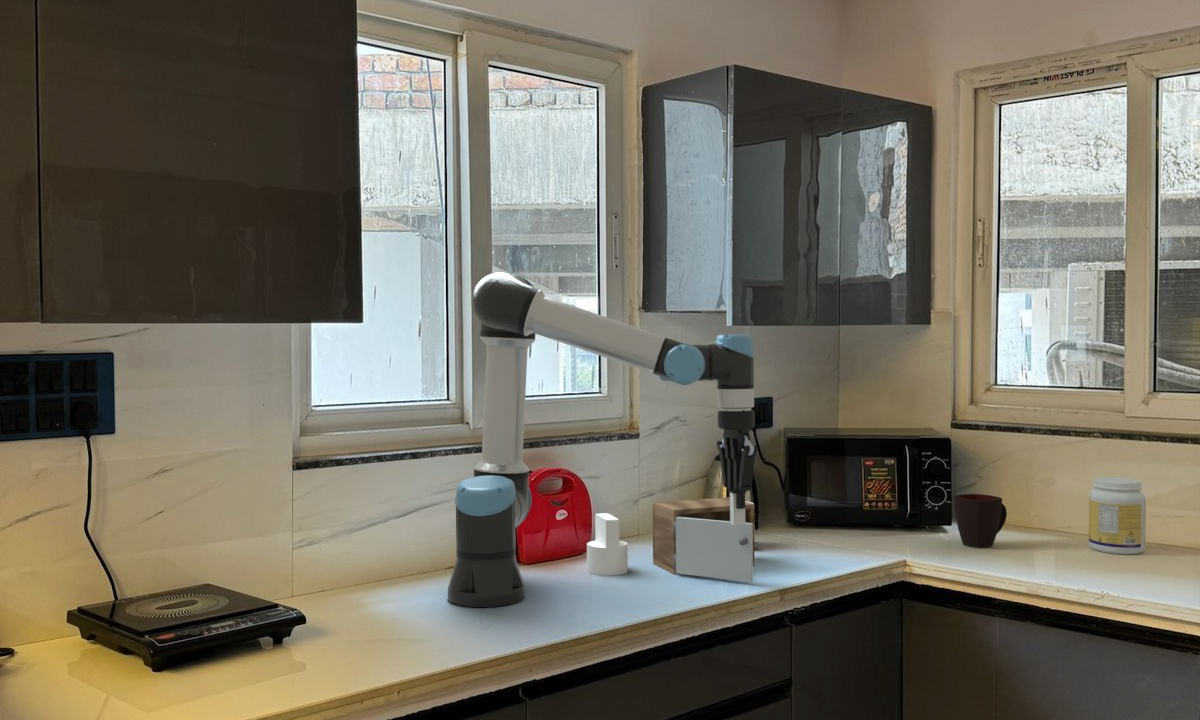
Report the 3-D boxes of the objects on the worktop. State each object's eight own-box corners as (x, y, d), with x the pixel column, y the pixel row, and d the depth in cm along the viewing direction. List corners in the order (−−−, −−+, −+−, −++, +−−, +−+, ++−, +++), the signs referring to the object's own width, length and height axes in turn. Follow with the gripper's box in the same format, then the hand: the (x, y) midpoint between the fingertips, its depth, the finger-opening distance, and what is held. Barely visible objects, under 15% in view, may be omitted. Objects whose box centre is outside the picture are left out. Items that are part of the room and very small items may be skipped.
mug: (947, 544, 249) (947, 495, 249) (987, 538, 255) (987, 491, 255) (979, 551, 240) (979, 501, 240) (1019, 545, 246) (1019, 497, 246)
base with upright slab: (633, 573, 219) (632, 518, 219) (593, 576, 216) (593, 521, 216) (620, 565, 228) (620, 512, 227) (582, 567, 225) (582, 514, 225)
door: (669, 574, 216) (669, 518, 215) (674, 571, 218) (674, 516, 218) (748, 583, 207) (748, 525, 207) (752, 580, 209) (752, 523, 209)
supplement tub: (1098, 542, 250) (1098, 475, 249) (1152, 549, 241) (1152, 479, 241) (1081, 550, 241) (1081, 480, 241) (1136, 557, 232) (1136, 485, 232)
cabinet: (674, 574, 218) (673, 510, 218) (653, 563, 228) (652, 502, 228) (754, 566, 225) (754, 504, 225) (730, 556, 236) (730, 497, 235)
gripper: (768, 410, 201) (770, 527, 202) (736, 406, 213) (738, 517, 214) (735, 411, 198) (737, 530, 199) (705, 408, 211) (706, 520, 211)
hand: (737, 523), depth 206 cm, fingers closed
